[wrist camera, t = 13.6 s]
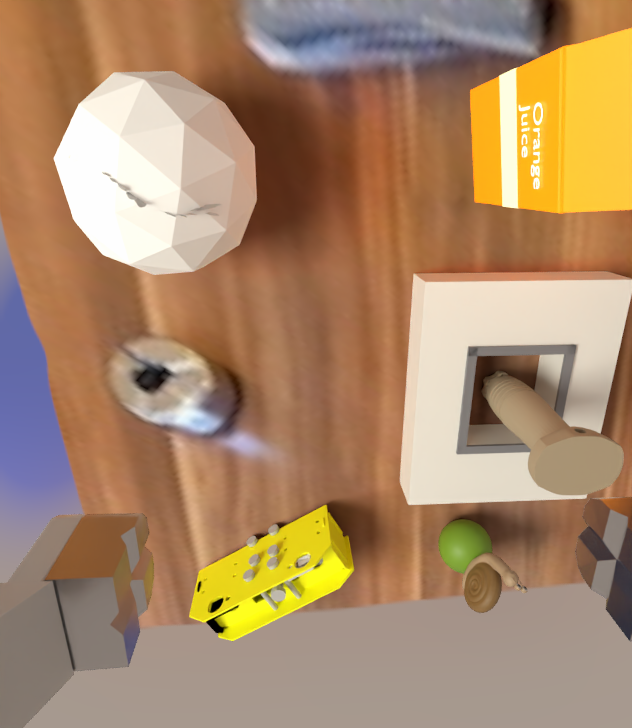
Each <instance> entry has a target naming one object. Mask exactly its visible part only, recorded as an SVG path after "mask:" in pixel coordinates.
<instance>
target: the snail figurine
mask: <svg viewBox="0 0 632 728" xmlns="http://www.w3.org/2000/svg"><path fill="white" fill-rule="evenodd" d="M439 551H440V554H441V557H442V558H443V560H444V562H445V563H446V564H447V565H448V566H449V567H450V568H452V569H453V570H455V571H457V572H459V573H463V574H464V575H463V580H462V588H463V590H464V595H465V599H466V602H467V604H468V605H469V607H470V608H471V609H472V610H474V611H476V612H479V613H484V612H487V611H489V610H491V609H492V608H493V607H494V606H495V604H496V603H497V601H498V599H499V597H500V594H501V588H502V581H501V576H502V577H503V581H504V583H505V584H506V585H507V586H509V587H514V586H515V589H516V590H518V591H519V590H521V591H522V592H523V593H526V592H527V588H526V587H525V586H523V585H522V584H521V582H520V581H519V577H518V575H517V574H516V573H515V572H514V571H513V570H511V569H510V567H509V566H508V565H507V564H506V563H505V562H504V561H503V560H502V559H501V558H500V557H498V556H497V555H495V554H493V553H492V543H491V540H490V537H489V535H488V533H487V532H486V531H485V529H484V528H483V527H482V526H480V525H479V524H477V523H476V522H474V521H471V520H466V519H459V520H455V521H452V522H450V523H449V524H448V525H446V526H445V527H444V529H443V530H442V532H441V534H440V537H439ZM500 575H501V576H500ZM518 582H520V584H521V585H522V587H521V586H520V585H519V584H518Z"/></svg>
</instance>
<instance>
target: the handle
mask: <svg viewBox="0 0 632 728" xmlns="http://www.w3.org/2000/svg"><path fill="white" fill-rule="evenodd" d="M483 382H484V387H483V389H482V390H481V391H482V394H483V396H484V397H485V399H487V401H488V403H489V405H490V407H491V408H492V410H493V411H494V413H495V414H496V415H497V417H498V418H499V419H500V420H501V421H502V423H503V424H504V425H505V426H506V427H507V428H508V429H510V430H511V431H512V432H513V433H514V434H515V435H516V436H517V437H518V438H519V439H520V440H522V441H523V442H524V443H525V444H526V445H527V446H528V447H529V448H530V449H531V451H530V454H529V458H528V470H529V473H530V475H531V477H532V479H533V480H534V482H535V483H536V484H537V485H538V486H539V487H541V488H543V489H545V490H547V491H550V492H552V493H555V494H558V495H586V494H589V493H593V492H596V491H598V490H601V489H603V488H606V487H608V486H610V485H611V484H612V483H613V482H614V481H615V480H616V479H617V477H618V476H619V474H620V472H621V469H622V466H623V461H624V454H623V450H622V448H621V446H620V445H618V444H617V443H616V442H615V441H613V440H612V439H610V438H608V437H606V436H604V435H603V434H601V433H598V432H596V431H593V430H591V429H586V428H583V427H576V426H573V427H570V426H569V425H568V424H567V423H566V422H565V421H564V420H563V419H562V418H561V417H560V416H559V415H558V414H557V413H556V412H555V411H554V410H553V409H552V408H551V407H550V406H549V404H548V403H547V402H546V401H545V400H544V399H543V398H542V397H541V396H540V395H539V394H538V393H536V392H535V391H534V390H533V389H532V388H530V387H529V386H527V385H526V384H525V383H523V382H522V381H520V380H518V379H516V378H514V377H511V376H508V374H507V373H505V372H503V371H496V372H495V373H494V374H493V375H491V376H489V377H485V378H484V380H483Z"/></svg>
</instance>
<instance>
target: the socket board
mask: <svg viewBox="0 0 632 728" xmlns="http://www.w3.org/2000/svg"><path fill="white" fill-rule="evenodd" d="M631 295H632V279H631V278H628V277H625V276H621V275H618V274H614V273H611V272H608V271H581V272H493V273H414V277H413V292H412V306H411V321H410V336H409V351H408V366H407V381H406V396H405V410H404V425H403V440H402V455H401V470H400V484H401V487H402V489H403V492H404V495H405V497H406V500H407V502H408V505H420V504H448V503H475V502H502V501H530V500H557V499H584V498H586V497H587V494H586V495H558V494H555V493H552V492H550V491H547V490H545V489H543V488H541V487H539V486H538V485H537V484H536V483H535V482H534V480H533V479H532V477H531V475H530V473H529V470H528V458H529V454H530V451H531V449H530V448H529V447H528V446H527V445H526V444H525V443H524V442H523V441H522V440H520V439H519V438H518V437H517V436H516V435H515V434H514V433H513V432H512V431H511V430H510V429H508V428H507V427H506V426H505V425H504V424H485V425H469V420H470V412H471V404H472V395H473V387H474V378H475V370H476V361H477V356H506V355H540V359H539V365H538V371H537V377H536V383H535V389H534V391H535V392H536V393H538V394H539V395H540V396H541V397H542V398H543V399H544V400H545V401H546V402H547V403H548V404H549V406H550V407H551V408H552V409H553V410H554V411H555V412H556V413H557V414H558V415H559V416H560V417H561V418H562V419H563V420H564V421H565V422H566V423H567V424H568V425H569V426H570V427H573V426H576V427H583V428H586V429H591V430H593V431H596V432H598V433H601V430H602V425H603V421H604V416H605V412H606V407H607V403H608V398H609V394H610V389H611V385H612V380H613V376H614V371H615V367H616V362H617V358H618V353H619V349H620V344H621V340H622V335H623V331H624V326H625V322H626V317H627V313H628V308H629V304H630V299H631Z"/></svg>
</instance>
